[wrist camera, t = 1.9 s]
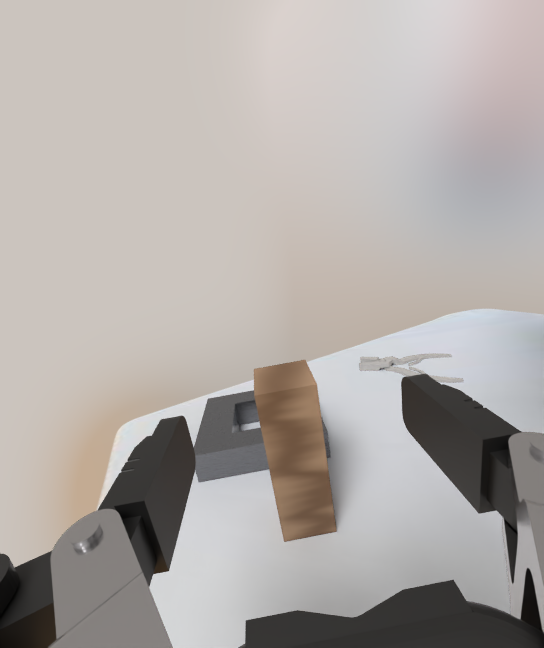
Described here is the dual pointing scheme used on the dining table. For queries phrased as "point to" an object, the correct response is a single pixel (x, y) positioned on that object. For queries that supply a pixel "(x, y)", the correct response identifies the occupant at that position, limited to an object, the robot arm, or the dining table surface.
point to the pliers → (386, 362)
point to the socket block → (232, 438)
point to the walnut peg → (295, 448)
